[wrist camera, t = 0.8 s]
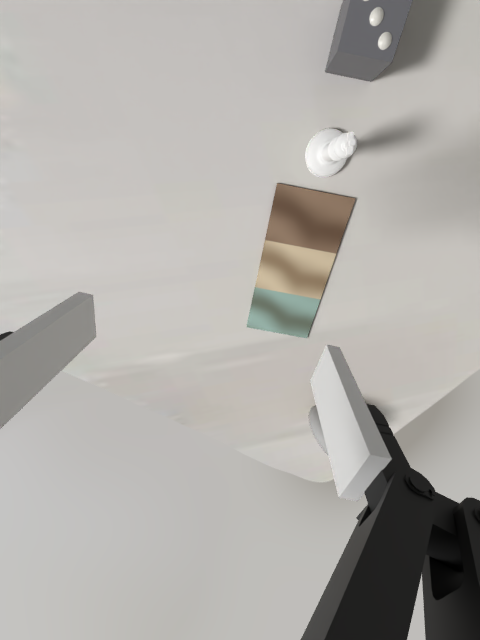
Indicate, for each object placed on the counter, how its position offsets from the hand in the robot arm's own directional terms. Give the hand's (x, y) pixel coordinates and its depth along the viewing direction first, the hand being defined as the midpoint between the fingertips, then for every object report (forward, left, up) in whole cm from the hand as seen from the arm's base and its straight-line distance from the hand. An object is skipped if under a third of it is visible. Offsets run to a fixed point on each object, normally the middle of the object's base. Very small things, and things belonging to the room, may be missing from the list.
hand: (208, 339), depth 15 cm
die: (-22, +8, -25) cm, 34 cm away
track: (+2, +8, -25) cm, 26 cm away
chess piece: (-13, +8, -25) cm, 29 cm away
